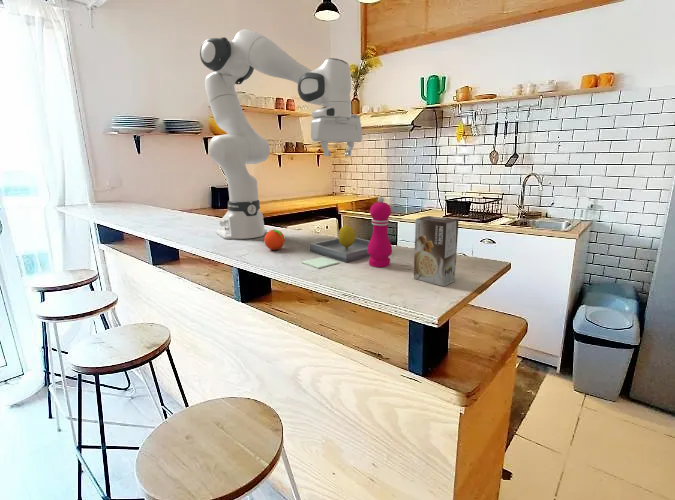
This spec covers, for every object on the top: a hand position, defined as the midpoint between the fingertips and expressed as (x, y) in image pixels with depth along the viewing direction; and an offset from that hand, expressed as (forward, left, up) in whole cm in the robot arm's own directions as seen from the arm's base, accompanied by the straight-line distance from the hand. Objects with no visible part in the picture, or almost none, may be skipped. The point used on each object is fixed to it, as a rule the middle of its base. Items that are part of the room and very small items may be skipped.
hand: (337, 156), depth 127 cm
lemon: (+9, -4, -30) cm, 32 cm away
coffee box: (+45, -7, -31) cm, 55 cm away
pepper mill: (+26, -7, -31) cm, 41 cm away
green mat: (+13, -19, -31) cm, 39 cm away
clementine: (-10, -20, -31) cm, 38 cm away
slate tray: (+9, -4, -31) cm, 33 cm away
